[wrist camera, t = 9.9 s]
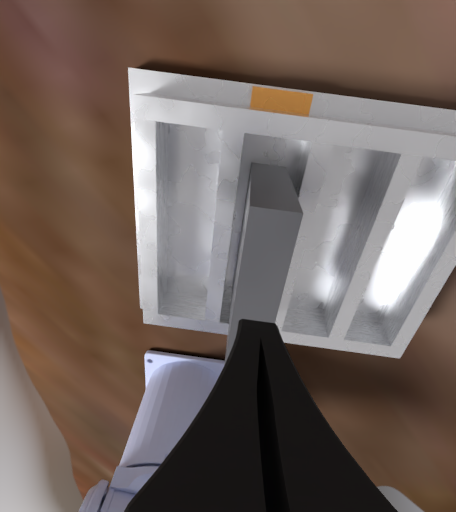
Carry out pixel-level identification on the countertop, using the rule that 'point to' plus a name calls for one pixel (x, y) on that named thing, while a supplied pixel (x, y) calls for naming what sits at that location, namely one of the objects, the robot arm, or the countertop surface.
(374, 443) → the countertop surface
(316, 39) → the countertop surface
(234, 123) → the rack
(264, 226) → the panel
